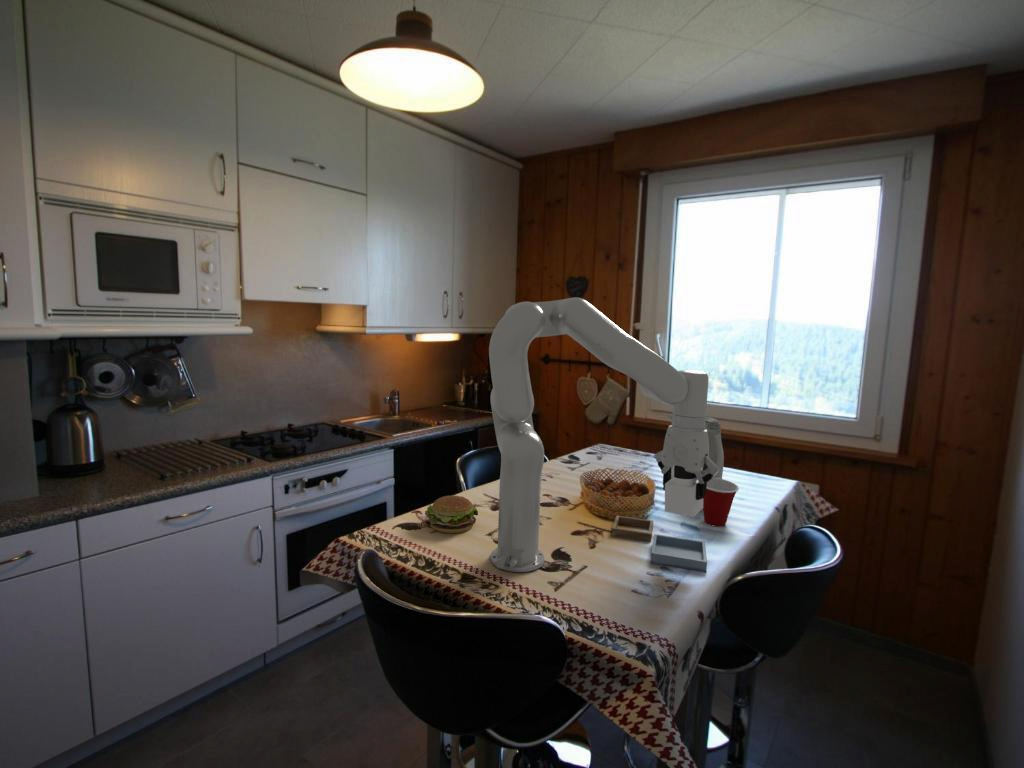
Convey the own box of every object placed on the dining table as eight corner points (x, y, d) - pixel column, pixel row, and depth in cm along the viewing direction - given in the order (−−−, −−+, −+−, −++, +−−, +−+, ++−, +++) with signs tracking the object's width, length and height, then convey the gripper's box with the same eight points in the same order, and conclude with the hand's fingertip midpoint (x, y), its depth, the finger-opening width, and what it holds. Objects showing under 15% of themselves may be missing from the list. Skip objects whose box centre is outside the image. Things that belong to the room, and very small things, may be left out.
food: (414, 525, 143) (415, 497, 142) (455, 513, 153) (455, 486, 152) (446, 541, 133) (446, 511, 132) (487, 527, 143) (488, 499, 142)
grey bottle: (726, 507, 166) (733, 419, 163) (700, 510, 163) (707, 421, 159) (704, 497, 176) (710, 414, 172) (679, 499, 172) (685, 415, 169)
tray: (706, 572, 121) (707, 562, 121) (650, 563, 125) (651, 553, 124) (704, 550, 133) (705, 541, 132) (653, 543, 136) (654, 533, 136)
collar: (650, 541, 137) (651, 534, 137) (611, 535, 140) (611, 528, 140) (653, 527, 147) (653, 520, 147) (616, 522, 150) (616, 515, 150)
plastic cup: (711, 531, 145) (714, 489, 144) (687, 517, 156) (691, 478, 154) (744, 528, 148) (747, 487, 147) (719, 515, 159) (722, 476, 157)
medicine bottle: (703, 508, 128) (704, 460, 126) (693, 518, 123) (694, 468, 121) (674, 502, 133) (675, 456, 131) (664, 511, 127) (664, 463, 125)
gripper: (648, 418, 129) (643, 487, 131) (715, 430, 116) (709, 507, 118) (664, 415, 134) (660, 482, 136) (731, 426, 121) (725, 500, 123)
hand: (683, 493), depth 127 cm, fingers closed on medicine bottle, 8 cm apart
